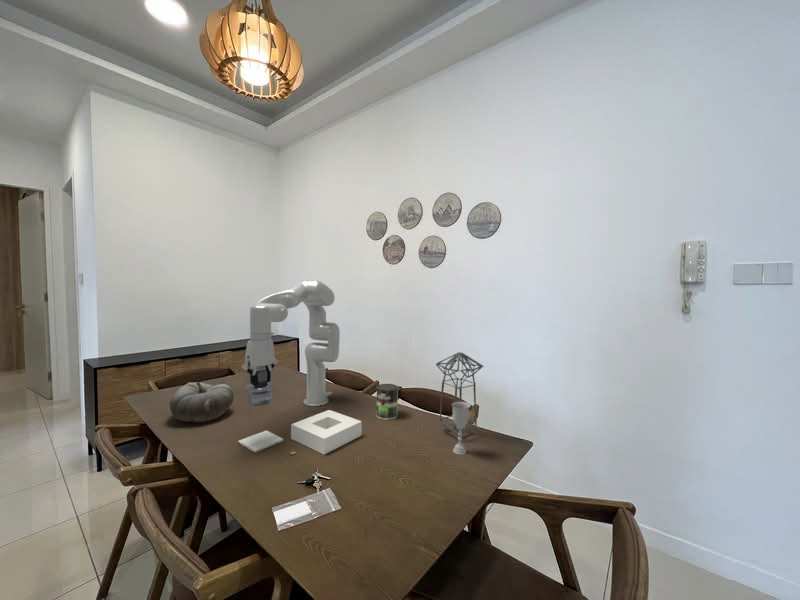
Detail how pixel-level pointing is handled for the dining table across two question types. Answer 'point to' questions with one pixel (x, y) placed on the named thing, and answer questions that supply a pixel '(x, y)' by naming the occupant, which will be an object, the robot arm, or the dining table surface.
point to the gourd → (201, 402)
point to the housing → (326, 431)
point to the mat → (260, 441)
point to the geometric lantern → (459, 356)
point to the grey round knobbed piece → (260, 389)
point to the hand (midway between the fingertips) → (260, 382)
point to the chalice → (460, 423)
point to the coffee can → (387, 401)
